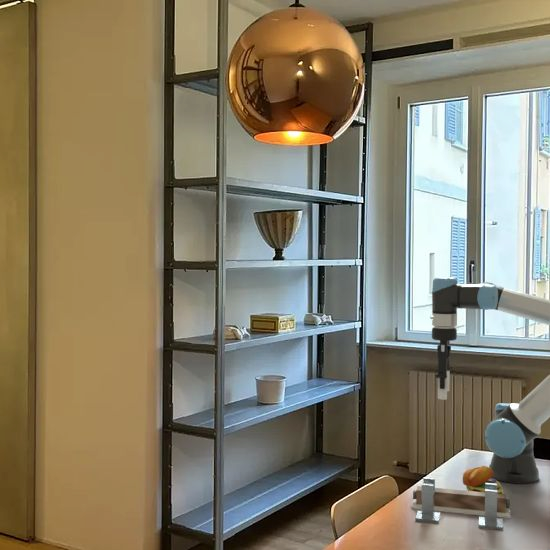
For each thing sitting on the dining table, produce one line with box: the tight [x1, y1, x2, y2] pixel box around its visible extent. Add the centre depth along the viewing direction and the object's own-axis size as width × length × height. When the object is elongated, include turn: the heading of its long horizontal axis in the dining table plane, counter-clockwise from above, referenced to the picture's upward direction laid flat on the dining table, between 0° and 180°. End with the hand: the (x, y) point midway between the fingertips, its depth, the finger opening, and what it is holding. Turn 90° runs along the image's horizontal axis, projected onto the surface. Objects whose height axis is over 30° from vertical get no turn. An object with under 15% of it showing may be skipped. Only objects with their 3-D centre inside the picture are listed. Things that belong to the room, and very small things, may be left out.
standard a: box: [415, 476, 441, 524], centre depth 194 cm, size 6×6×10 cm
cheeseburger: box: [462, 465, 505, 494], centre depth 211 cm, size 10×11×10 cm
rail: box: [412, 485, 511, 513], centre depth 202 cm, size 26×4×4 cm, turn 73°
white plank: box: [411, 499, 511, 519], centre depth 201 cm, size 26×7×1 cm, turn 73°
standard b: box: [478, 483, 504, 531], centre depth 189 cm, size 6×6×10 cm
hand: (443, 395), depth 226 cm, fingers open, 13 cm apart
